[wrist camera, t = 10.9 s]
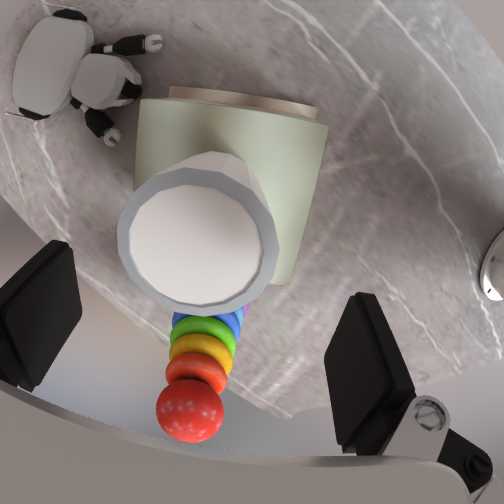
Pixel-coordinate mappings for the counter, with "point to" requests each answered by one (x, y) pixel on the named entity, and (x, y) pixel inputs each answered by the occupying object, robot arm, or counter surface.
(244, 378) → the counter surface
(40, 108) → the robot toy
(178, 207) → the shot glass
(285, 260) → the patterned box
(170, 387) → the stacking toy
